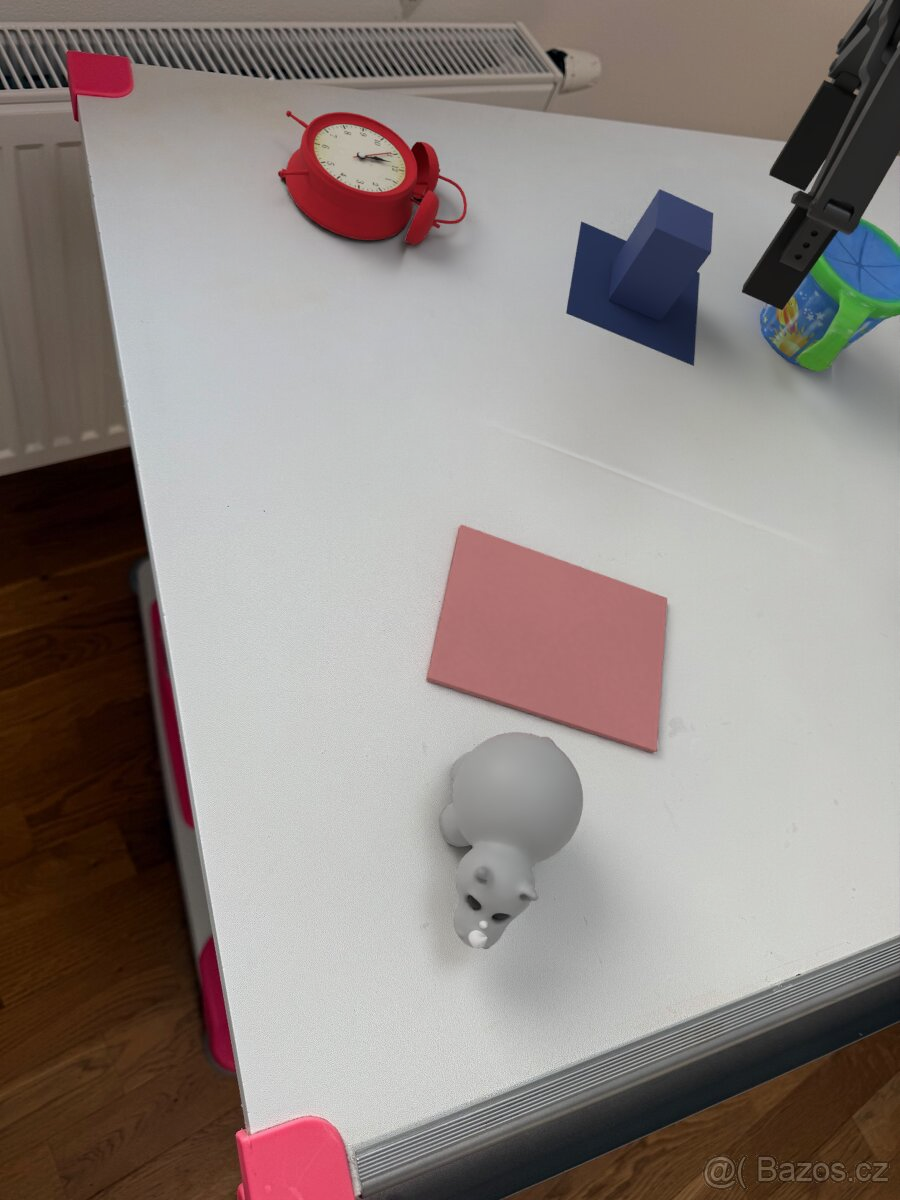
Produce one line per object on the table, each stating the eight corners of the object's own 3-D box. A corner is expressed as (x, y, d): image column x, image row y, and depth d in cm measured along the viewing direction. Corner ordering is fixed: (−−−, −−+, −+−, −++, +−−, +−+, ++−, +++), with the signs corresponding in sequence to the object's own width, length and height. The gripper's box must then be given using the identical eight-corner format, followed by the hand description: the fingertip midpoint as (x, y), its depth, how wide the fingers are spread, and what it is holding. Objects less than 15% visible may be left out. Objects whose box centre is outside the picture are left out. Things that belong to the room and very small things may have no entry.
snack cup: (823, 422, 85) (907, 345, 77) (723, 360, 85) (795, 275, 76) (852, 320, 94) (930, 240, 85) (761, 263, 93) (830, 177, 85)
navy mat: (696, 276, 89) (699, 272, 88) (691, 369, 83) (694, 365, 82) (578, 225, 87) (581, 220, 86) (563, 317, 80) (566, 312, 80)
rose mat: (664, 600, 70) (667, 597, 69) (653, 753, 64) (657, 751, 63) (458, 527, 67) (461, 523, 66) (425, 680, 61) (428, 677, 60)
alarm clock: (284, 90, 76) (473, 108, 77) (287, 159, 81) (464, 176, 83) (272, 179, 71) (475, 197, 72) (277, 247, 76) (465, 263, 78)
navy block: (663, 283, 86) (713, 212, 79) (660, 322, 83) (711, 252, 77) (613, 261, 85) (659, 188, 78) (608, 300, 82) (655, 227, 76)
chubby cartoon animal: (383, 934, 53) (432, 904, 46) (449, 743, 59) (501, 691, 52) (501, 984, 53) (567, 963, 46) (553, 790, 60) (618, 746, 53)
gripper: (948, -245, 52) (748, 117, 70) (938, -69, 38) (690, 329, 55) (1073, -186, 52) (843, 160, 70) (1109, 11, 38) (809, 382, 56)
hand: (775, 236), depth 63 cm, fingers open, 13 cm apart
